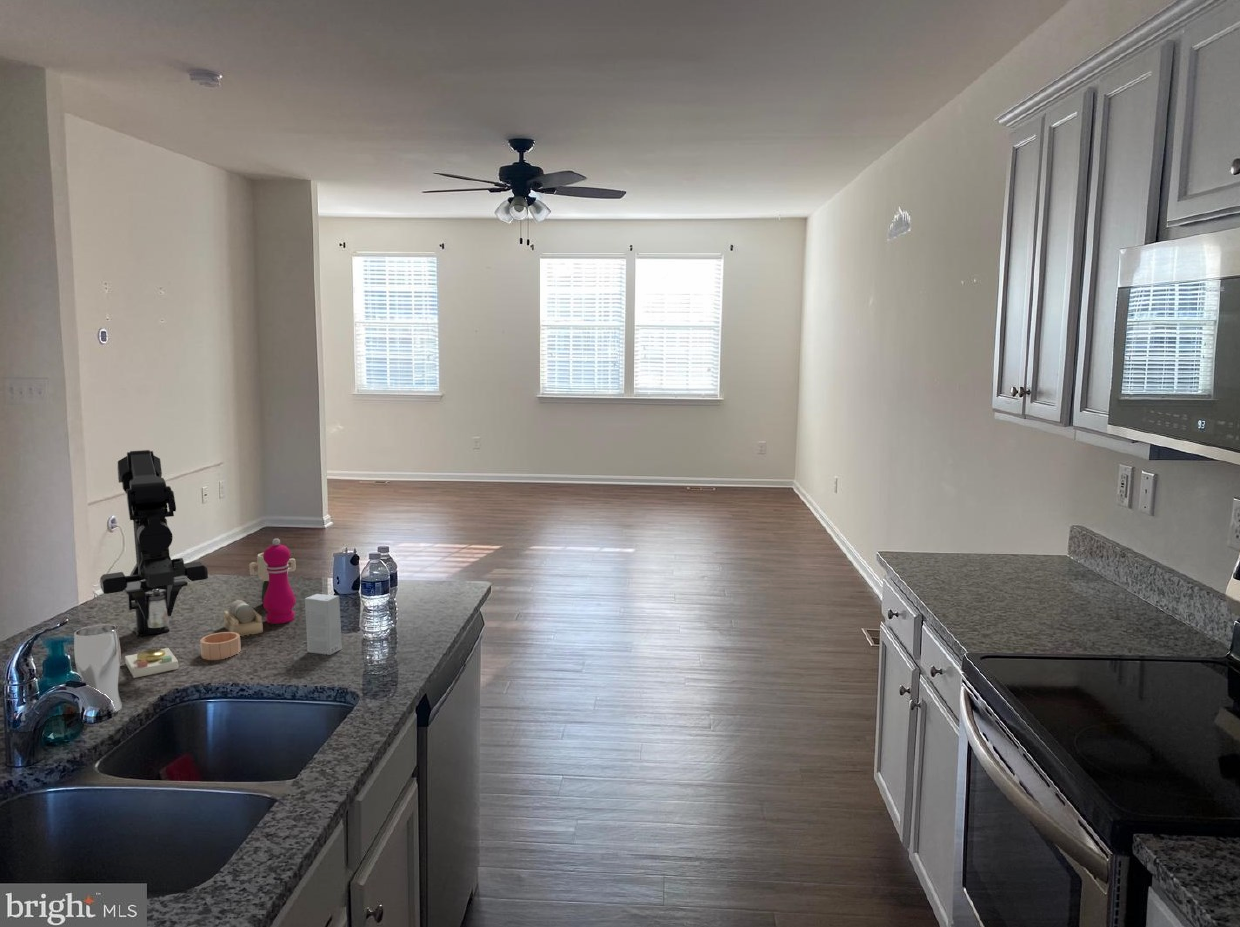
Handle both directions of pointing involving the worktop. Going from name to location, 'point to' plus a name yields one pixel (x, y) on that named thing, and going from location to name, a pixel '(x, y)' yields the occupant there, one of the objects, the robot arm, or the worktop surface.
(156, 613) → the glass salt shaker
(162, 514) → the robot arm
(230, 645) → the peach faceted bowl
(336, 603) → the skincare box
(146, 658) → the gold disc
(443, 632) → the worktop surface
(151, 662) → the white decorated slab
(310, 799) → the worktop surface
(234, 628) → the trough rack
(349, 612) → the worktop surface
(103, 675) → the beer glass
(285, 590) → the pepper mill
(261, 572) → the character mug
